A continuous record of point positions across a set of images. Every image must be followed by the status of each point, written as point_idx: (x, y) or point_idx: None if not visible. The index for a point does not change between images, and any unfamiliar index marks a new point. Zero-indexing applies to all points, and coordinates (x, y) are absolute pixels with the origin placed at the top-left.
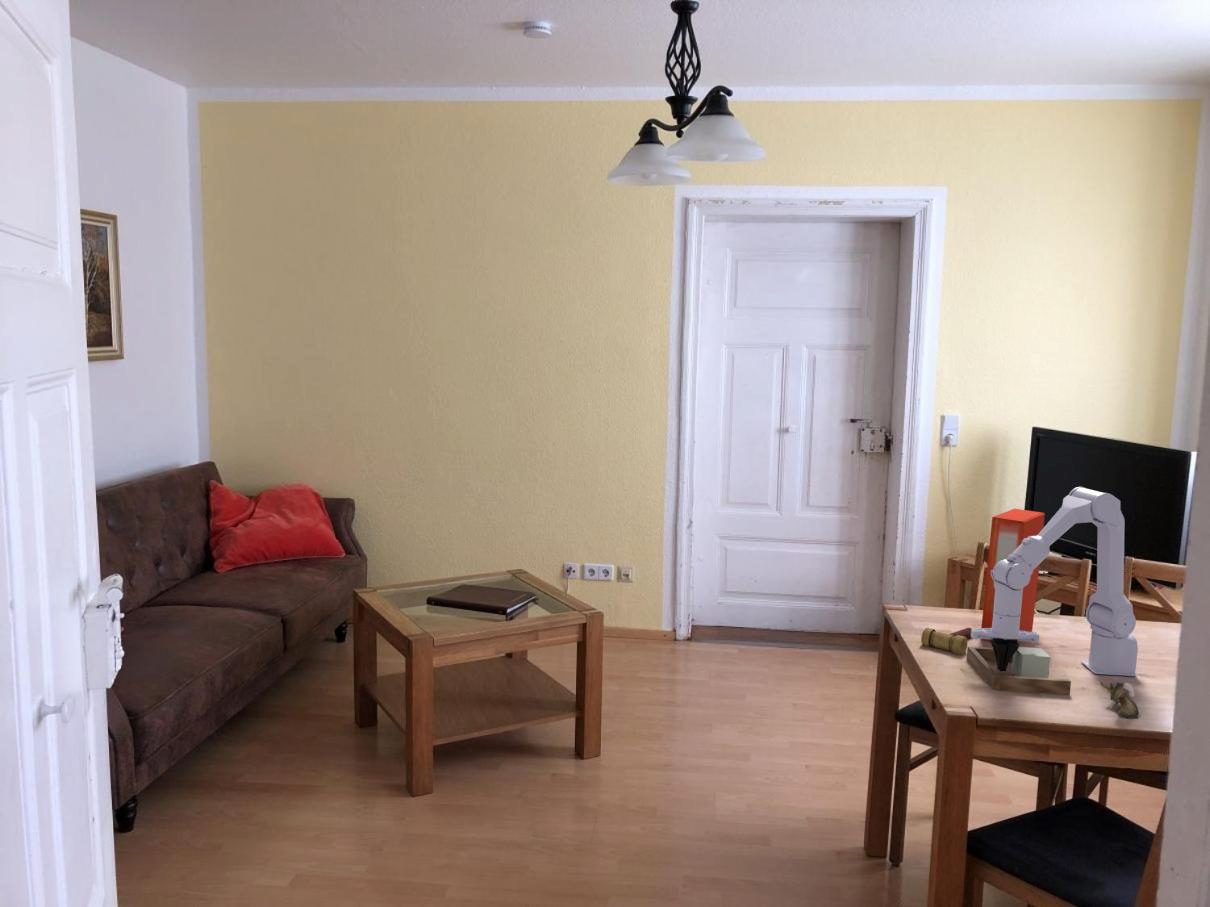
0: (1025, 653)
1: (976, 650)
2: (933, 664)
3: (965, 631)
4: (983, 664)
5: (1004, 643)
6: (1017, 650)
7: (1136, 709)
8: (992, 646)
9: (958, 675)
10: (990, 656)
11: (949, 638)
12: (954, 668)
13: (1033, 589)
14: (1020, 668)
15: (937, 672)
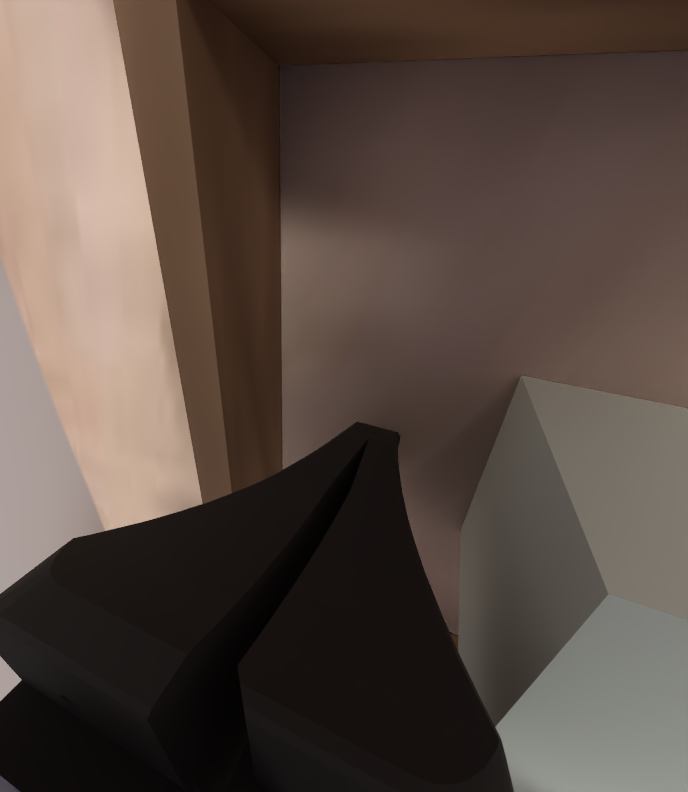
0: (543, 780)
1: None
2: (36, 243)
3: None
4: (204, 501)
5: (222, 789)
6: (524, 681)
7: None
8: (191, 514)
9: (153, 415)
10: (460, 18)
11: None
12: (135, 313)
13: None
14: (467, 584)
15: (73, 371)
